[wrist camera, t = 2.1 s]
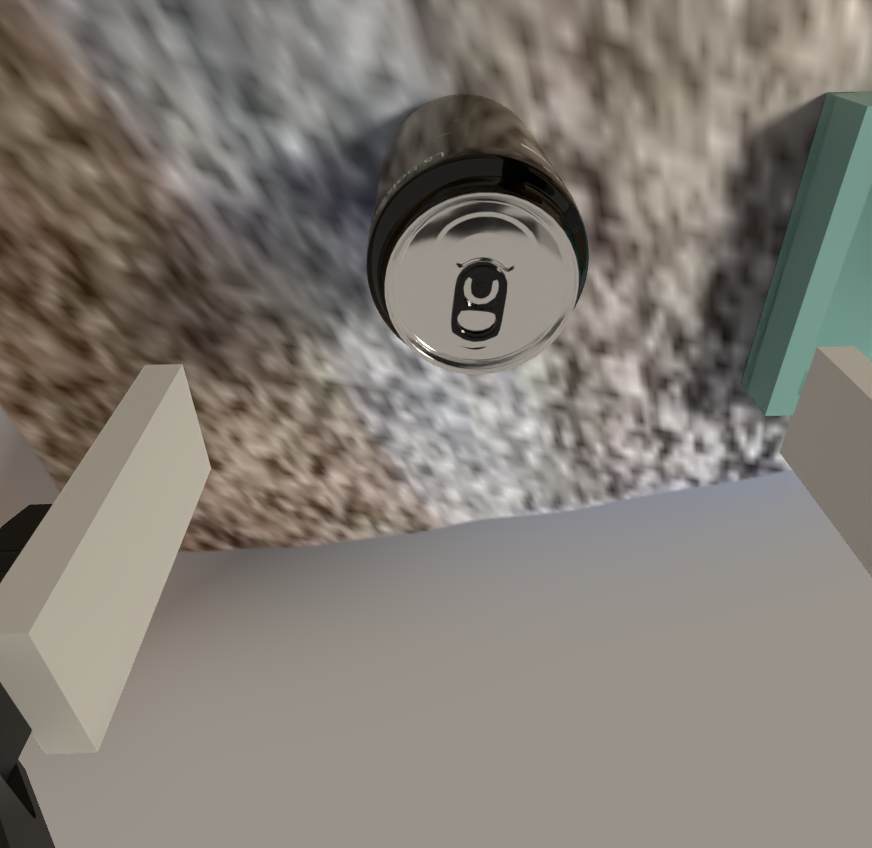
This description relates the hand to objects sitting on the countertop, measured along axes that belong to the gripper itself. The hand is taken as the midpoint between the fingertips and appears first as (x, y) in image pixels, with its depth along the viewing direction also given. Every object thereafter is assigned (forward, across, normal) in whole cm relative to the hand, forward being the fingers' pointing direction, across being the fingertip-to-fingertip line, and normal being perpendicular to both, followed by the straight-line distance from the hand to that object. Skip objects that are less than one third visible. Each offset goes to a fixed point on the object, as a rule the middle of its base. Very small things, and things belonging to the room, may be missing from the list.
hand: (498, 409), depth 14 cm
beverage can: (+18, 0, 0) cm, 18 cm away
